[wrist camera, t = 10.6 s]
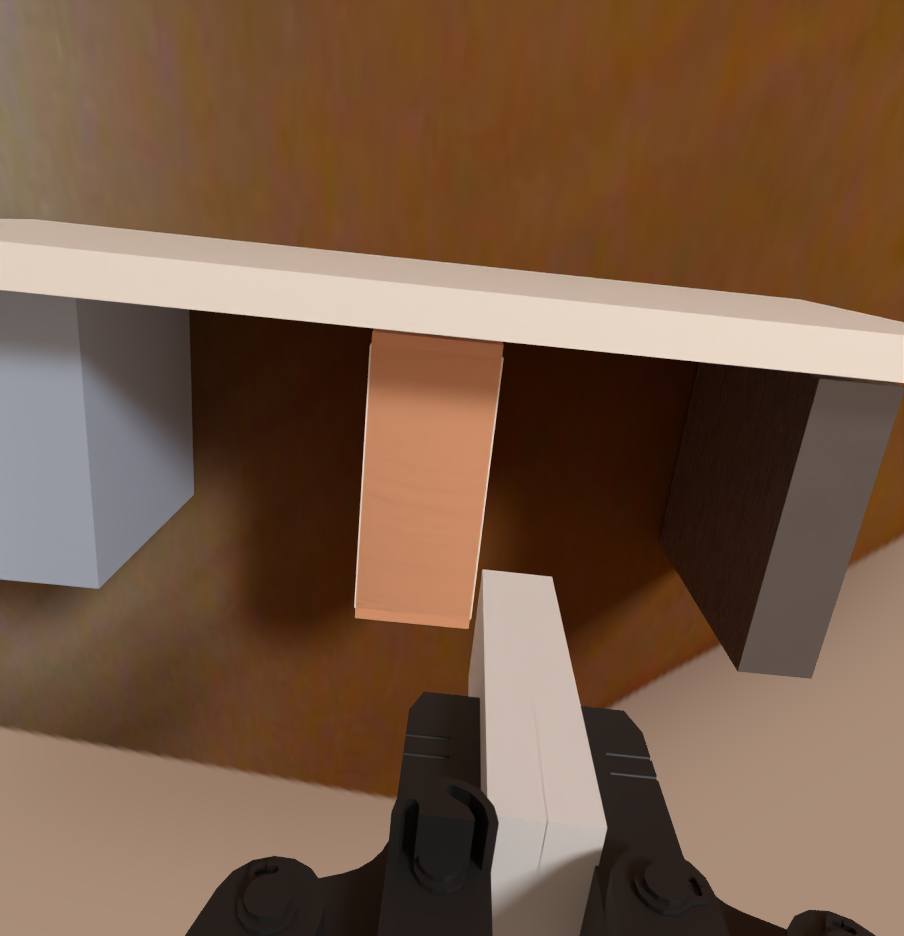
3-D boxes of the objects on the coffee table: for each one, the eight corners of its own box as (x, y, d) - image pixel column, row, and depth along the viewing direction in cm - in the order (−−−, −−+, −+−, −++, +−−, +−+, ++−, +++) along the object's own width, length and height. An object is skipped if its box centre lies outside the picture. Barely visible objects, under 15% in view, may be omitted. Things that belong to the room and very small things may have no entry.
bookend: (659, 542, 33) (737, 671, 23) (705, 329, 29) (819, 378, 20) (711, 547, 33) (811, 678, 23) (764, 335, 29) (905, 387, 20)
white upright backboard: (59, 491, 33) (-157, 633, 21) (34, 219, 29) (-250, 215, 17) (732, 557, 33) (871, 730, 22) (799, 299, 29) (1013, 346, 18)
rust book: (382, 516, 33) (353, 617, 24) (397, 300, 29) (370, 331, 21) (468, 524, 33) (469, 629, 24) (493, 310, 30) (504, 345, 21)
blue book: (109, 485, 32) (-17, 577, 24) (93, 265, 29) (-59, 281, 21) (194, 494, 33) (98, 588, 24) (188, 275, 29) (75, 295, 21)
